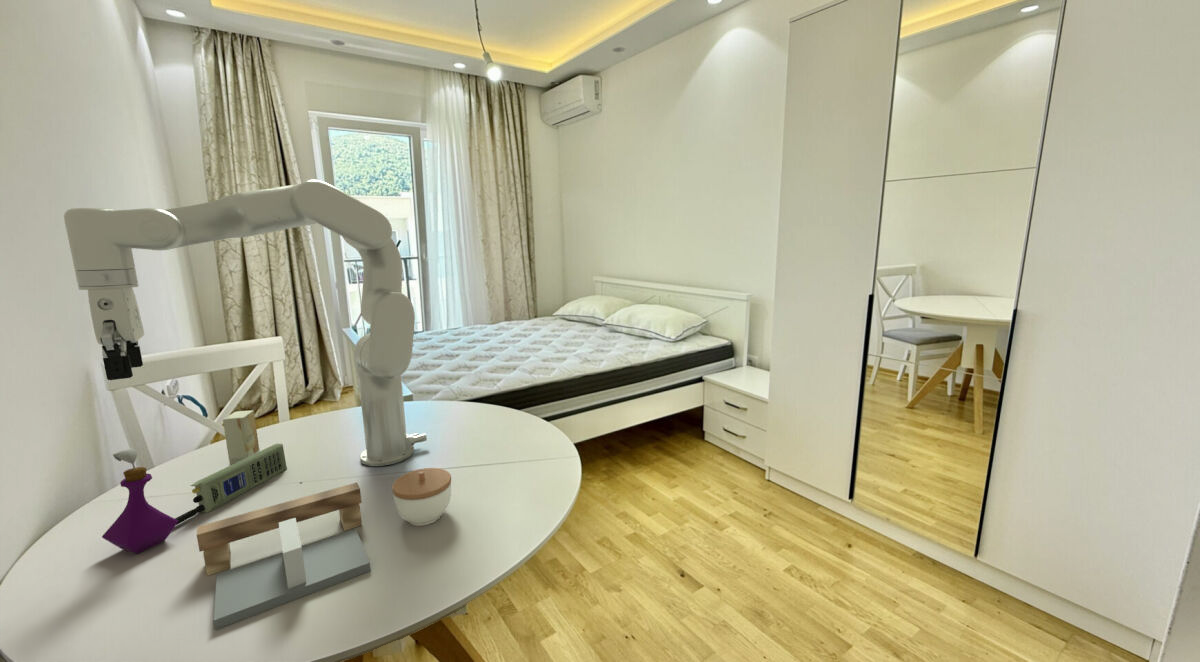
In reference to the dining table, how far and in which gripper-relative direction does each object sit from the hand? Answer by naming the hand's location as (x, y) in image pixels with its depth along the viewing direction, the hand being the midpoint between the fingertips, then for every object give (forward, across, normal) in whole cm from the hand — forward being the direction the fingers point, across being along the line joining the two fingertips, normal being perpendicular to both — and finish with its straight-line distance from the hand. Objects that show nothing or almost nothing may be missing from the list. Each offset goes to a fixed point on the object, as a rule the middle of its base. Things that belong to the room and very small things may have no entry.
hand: (126, 372), depth 88 cm
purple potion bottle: (+30, -9, 0) cm, 32 cm away
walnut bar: (+26, -24, -21) cm, 41 cm away
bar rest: (+30, -24, -21) cm, 44 cm away
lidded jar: (+30, -31, -43) cm, 61 cm away
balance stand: (+30, -36, -21) cm, 51 cm away
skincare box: (+30, +22, -14) cm, 40 cm away
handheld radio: (+30, +3, -12) cm, 33 cm away
